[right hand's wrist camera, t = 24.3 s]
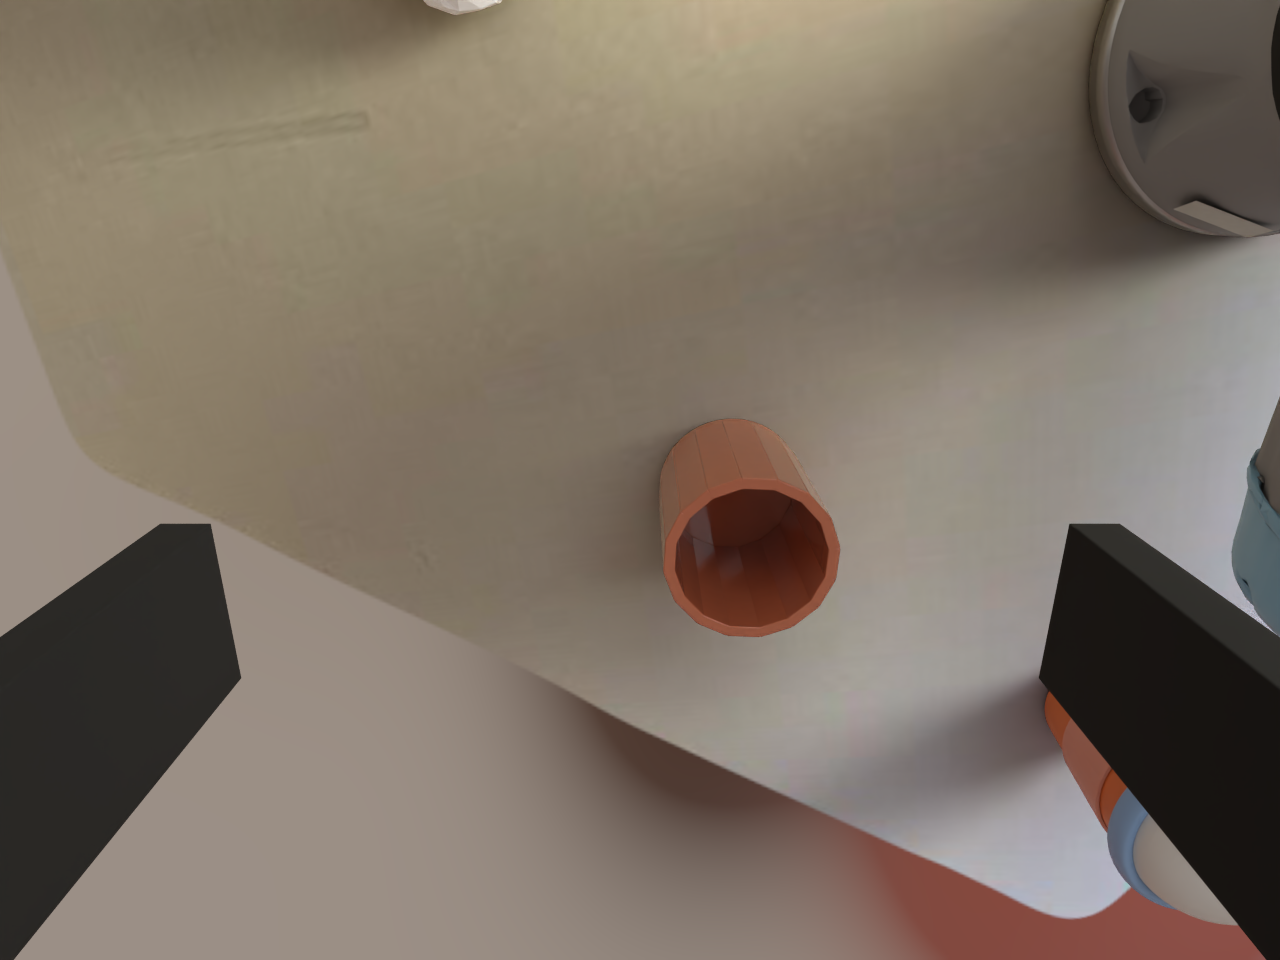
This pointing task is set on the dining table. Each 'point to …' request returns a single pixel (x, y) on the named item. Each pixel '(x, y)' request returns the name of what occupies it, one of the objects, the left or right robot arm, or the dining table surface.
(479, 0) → the skull
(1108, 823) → the cup with straw
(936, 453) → the dining table surface
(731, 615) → the terracotta cup
